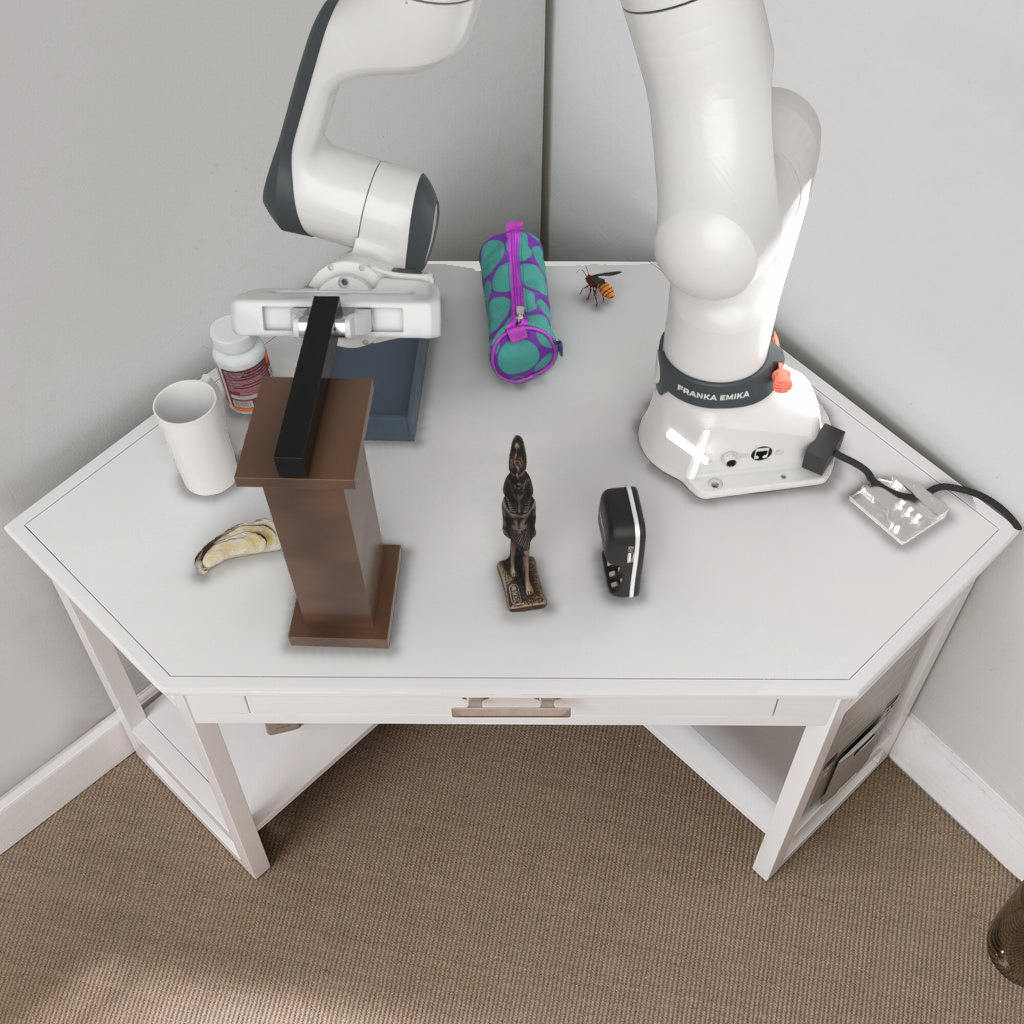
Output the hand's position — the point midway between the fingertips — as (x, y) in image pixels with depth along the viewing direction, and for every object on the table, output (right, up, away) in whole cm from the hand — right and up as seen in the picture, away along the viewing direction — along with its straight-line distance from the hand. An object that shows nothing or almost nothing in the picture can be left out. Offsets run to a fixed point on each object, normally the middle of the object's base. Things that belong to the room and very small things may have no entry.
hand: (321, 329), depth 96 cm
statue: (+18, -24, +16) cm, 34 cm away
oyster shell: (-12, -21, +19) cm, 31 cm away
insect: (+28, +11, +44) cm, 54 cm away
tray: (0, +2, +37) cm, 37 cm away
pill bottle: (-15, -3, +34) cm, 37 cm away
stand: (0, -25, +15) cm, 30 cm away
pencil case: (+18, +7, +41) cm, 45 cm away
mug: (-17, -11, +28) cm, 34 cm away
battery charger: (+28, -23, +17) cm, 40 cm away
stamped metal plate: (+60, -16, +21) cm, 65 cm away
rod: (0, -6, -3) cm, 7 cm away
